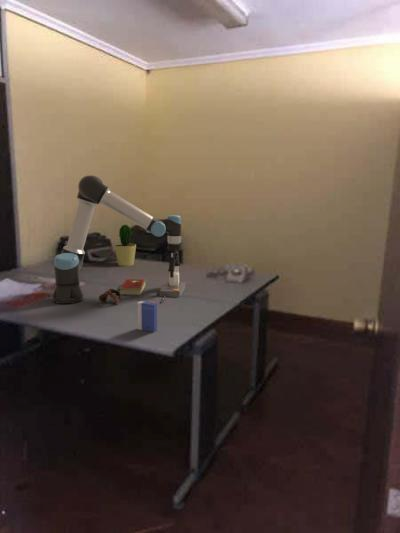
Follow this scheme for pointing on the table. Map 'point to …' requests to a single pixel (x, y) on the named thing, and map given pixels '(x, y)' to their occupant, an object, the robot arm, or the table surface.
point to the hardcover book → (132, 286)
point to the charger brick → (175, 280)
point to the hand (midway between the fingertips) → (174, 279)
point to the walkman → (147, 316)
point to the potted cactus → (125, 247)
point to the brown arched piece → (104, 296)
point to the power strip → (172, 290)
